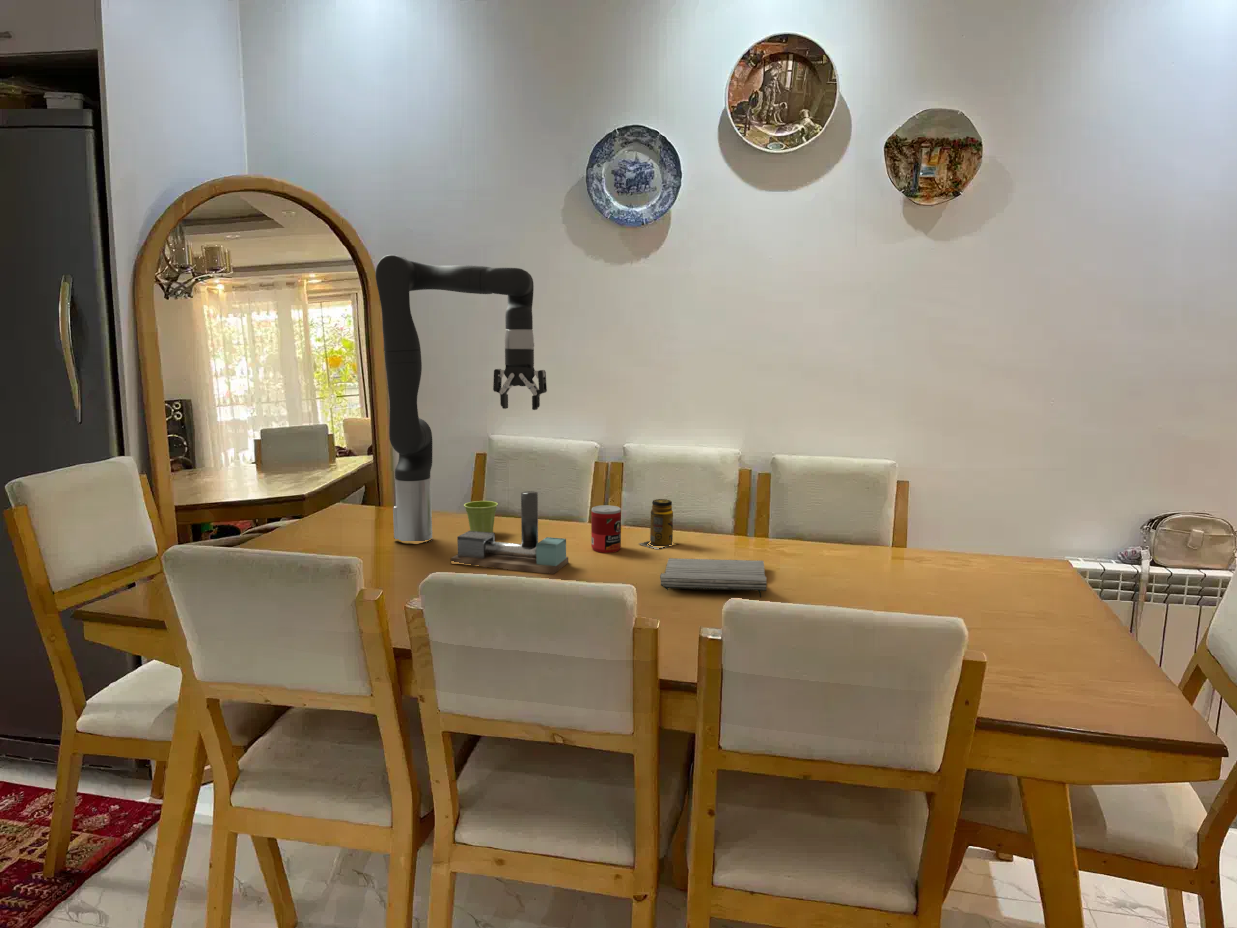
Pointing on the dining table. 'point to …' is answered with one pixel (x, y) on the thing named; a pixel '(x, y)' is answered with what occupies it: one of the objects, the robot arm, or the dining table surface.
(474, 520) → the plant pot
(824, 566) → the dining table surface
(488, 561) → the board
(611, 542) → the canned food
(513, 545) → the slide bolt
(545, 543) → the socket block
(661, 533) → the condiment
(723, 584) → the mat
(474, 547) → the sleeve
